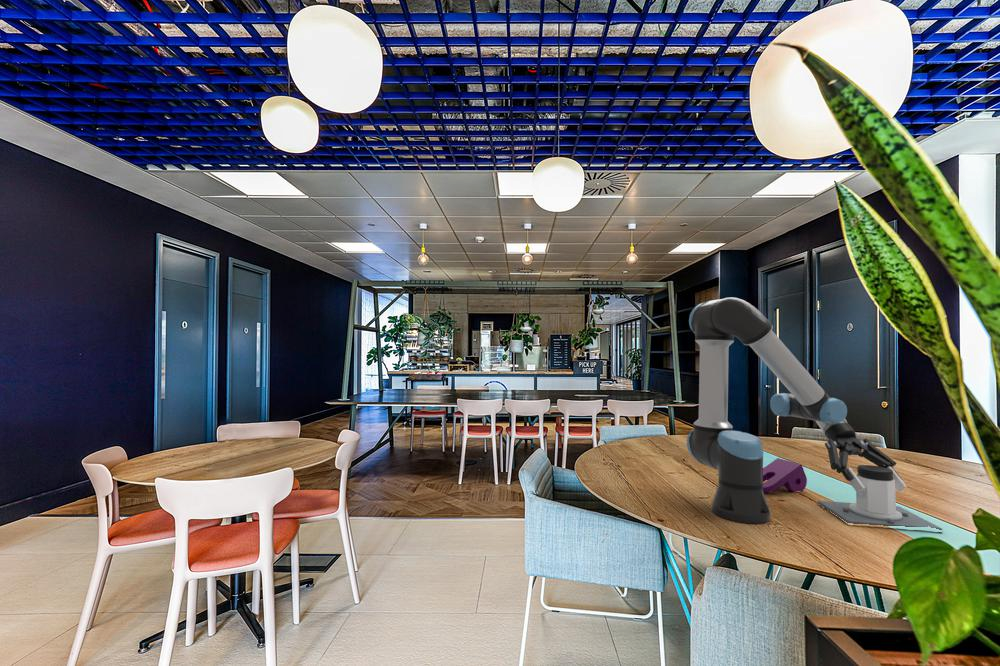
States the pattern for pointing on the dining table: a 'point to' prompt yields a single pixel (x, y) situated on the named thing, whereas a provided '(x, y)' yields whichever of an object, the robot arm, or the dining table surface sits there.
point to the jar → (876, 490)
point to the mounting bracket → (784, 476)
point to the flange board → (875, 516)
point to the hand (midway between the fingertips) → (882, 489)
